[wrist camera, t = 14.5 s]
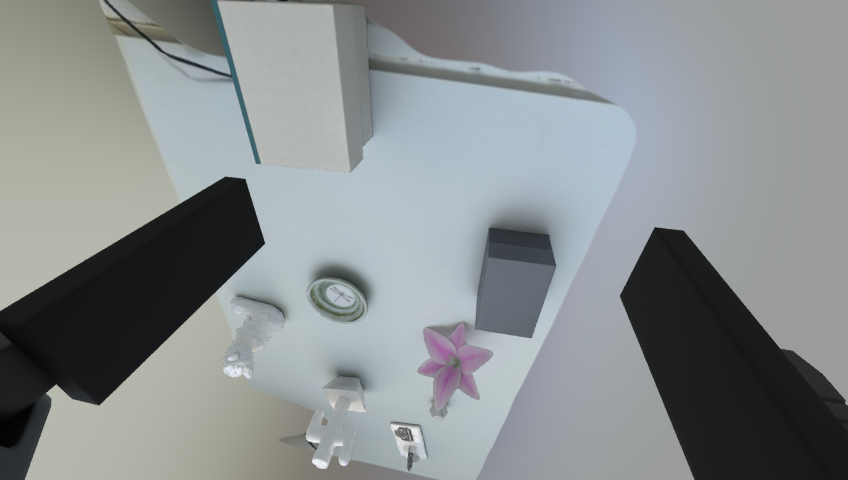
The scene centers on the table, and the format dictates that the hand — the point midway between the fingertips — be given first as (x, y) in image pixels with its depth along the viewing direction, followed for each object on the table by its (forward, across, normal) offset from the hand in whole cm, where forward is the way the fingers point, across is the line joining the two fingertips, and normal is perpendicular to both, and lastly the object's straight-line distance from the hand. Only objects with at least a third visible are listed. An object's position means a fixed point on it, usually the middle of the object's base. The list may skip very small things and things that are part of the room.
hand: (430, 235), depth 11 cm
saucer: (+26, -18, -31) cm, 44 cm away
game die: (+27, -1, -58) cm, 64 cm away
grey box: (+26, +7, -22) cm, 35 cm away
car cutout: (+27, -7, -76) cm, 81 cm away
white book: (+20, -14, 0) cm, 24 cm away
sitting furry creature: (+26, -33, -39) cm, 57 cm away
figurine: (+26, -19, -57) cm, 65 cm away
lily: (+27, +1, -38) cm, 46 cm away
